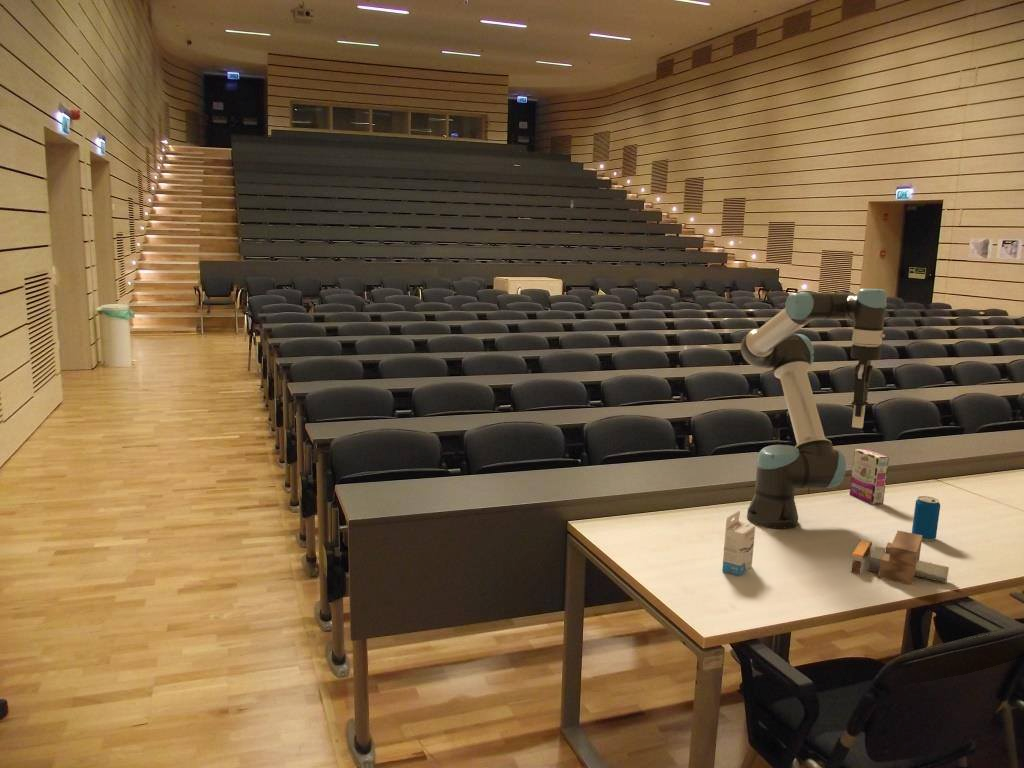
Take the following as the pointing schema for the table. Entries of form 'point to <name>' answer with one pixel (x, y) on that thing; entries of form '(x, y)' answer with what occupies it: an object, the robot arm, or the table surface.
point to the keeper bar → (861, 549)
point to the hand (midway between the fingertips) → (857, 427)
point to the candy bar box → (869, 476)
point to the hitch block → (897, 558)
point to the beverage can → (926, 517)
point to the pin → (921, 569)
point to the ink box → (738, 545)
